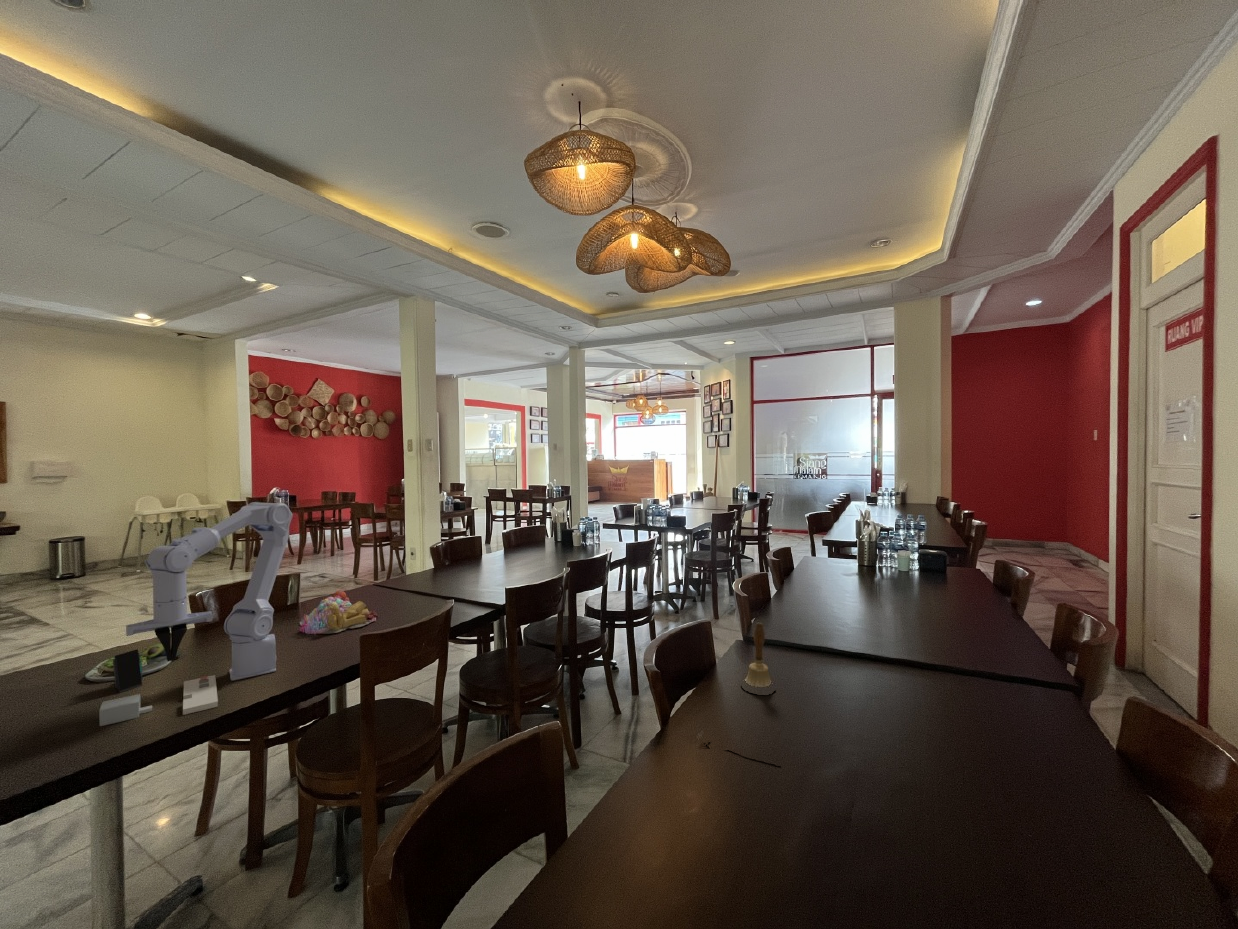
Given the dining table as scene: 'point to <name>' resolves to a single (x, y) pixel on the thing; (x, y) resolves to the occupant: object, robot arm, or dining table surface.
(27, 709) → the dining table surface
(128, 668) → the speaker
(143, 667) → the salad plate
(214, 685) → the power strip
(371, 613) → the candy landscape model
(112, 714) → the charger
